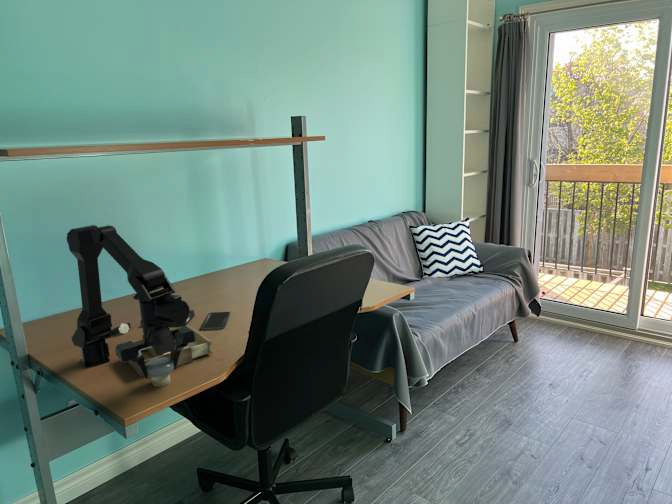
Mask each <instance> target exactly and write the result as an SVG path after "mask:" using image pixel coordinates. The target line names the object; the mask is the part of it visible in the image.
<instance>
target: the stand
mask: <svg viewBox="0 0 672 504" xmlns="http://www.w3.org/2000/svg"><path fill="white" fill-rule="evenodd" d="M151 383H152V386H153V387H156V388H161V387H165V386H168V385H169V384H170V383H171V373H169V374H167V375H163V376H158V377H151Z"/></svg>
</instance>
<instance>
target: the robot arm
mask: <svg viewBox="0 0 672 504" xmlns="http://www.w3.org/2000/svg"><path fill="white" fill-rule="evenodd" d="M66 242H67V244H68V249H69V251H70V253H71V254H72V255H73V257H74V258H75V259H76V260H77V269H78V278H79V289H80V297H81V307H82V309H81V312H80V313H79V315H78V317H77V320H76V322H77V323H76V329H75V330H74V331H75V332H74V333H73V335H72V336H71V341H72V343H73V346H75V347H79V349H80V356H81V359H80V362H81V363H82V364H83V366H84V367H85V368H91V367H93V366H94V367H95V366H97V365H101V364H105V363H108V362H110V361H111V358H110V357H111V355H110V349H109V343H107V341H106V339H109V338H111V330H112V327H113V323H112V315H111V314H110V313H107V311H106V310H105V309H104V307H103V302H102V291H101V280H100V268H99V256H100V255H101V253H102V251H103V249H104V251H106V252H107V253H108V255H110V257H111V258H112V259H113V260H114V261H115V262H116V263H117V264H118V265H119V266H120V267H121V268H122V269H123V270H124V272H125V273H126V274H127V275H126V276H127V282H128V283H129V285H130V287H132V289H133V290H134V292H135V294H134V295H133V297H132V299H133V300H136V301H138V305H139V312H140V325H142V327H141V329H142V339H144V342H143V343H139V344H136V345H135V344H134V343H133V341H132V340H130V341H129V340H128V341H125V342H122V343H117V344H116V346H115V356H116V357H118V359H119V360H120V361H121V362H122V363H123V362H124V363H125V362H127V361H129V360H131V361H132V362H136V363H137V365H138V367H139V368H140V370H141V372H142V374H143V375H144V377H145V378H144V379H146V380H147V379H148V377H147V371H146V367H145V363H144V357H143V356H142V355H141V351H143V350H146V349H150V348H153V349H154V350H155V353H156V354H157V355H163V354H164V353H168V352H170V353H171V359H173V362H174V370H173V371H176V369H177V367H176V366H177V363H178V359H179V355H180V353H181V350H182V349H183V348H184V347H186V346H187V345H188V343H191V342H195V341H196V337H195V333H194V332H193V331H192V330H191V329H189V328H188V327H189V326H187V325H186V326H180V327H178V328H174V329H170V326H168V323H167V322H171V323H175V324H182V323H183V322H185V321H186V319H187V318H188V315H189V310H190V306H189V305H188V303H187V302H186V301H185V300H182V295H178V294H175V293H176V290H175V288H174V286H173V284H172V283H171V282H170V280H169V279H168V277H167V275H166V273H165V272H164V270H163V269H162V267H159V266H158V265H157V264H155V263H154V262H153V261H150V260H146V259H144V258H143V257H141V256H140V255H139V254H138V253H137V252H136V250H134V248H133V247H131V245H129V244H128V243H127V241H125V239H124V238H123V237H122V236H121V235H119V233H118V231H117V230H116V227H115V226H113V225H110V224H108V225H104V226H99V227H98V226H97V225H96V224H91V225H86V226H80V227H76V228H71V229H70V230H69V231H68V232H67V233H66ZM153 291H154V292H153Z"/></svg>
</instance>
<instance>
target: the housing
mask: <svg viewBox="0 0 672 504" xmlns="http://www.w3.org/2000/svg"><path fill="white" fill-rule="evenodd" d="M132 342H133V343H134V344H135V345H136V344H139V343H143V342H144V339H143V338H140V339H137V340H133V341H132ZM141 355H142V356H143V357H144V363H145V364H146V363H147V362H148V361H150V360H152V359H156V358H161V357H168V358H171V353H168V354H164V355H161V356H158V357H154V356H153V355H152V354H151V353H150V352H149V351H148V349H146V350H143V351H141ZM126 362H127V363H128V364H129V365H130V366H131V367H132V368H133V369H134V370H135V372H136V373H137V374H138V375H139V377H141V378H142V379H146V378H145V377H144V375H143V374H142V372H141V370H140V368H139V367H138V365H137V363H136V362H132V361H131V360H129V361H126ZM191 363H192V364H193V363H194V360H193V358H192V351H191V347H188V348H185V349H182V350H181V353H180V355H179V359H178V363H177V366H176V368H179V367H182V366H186V365H189V364H191ZM148 377H149V376H148V375H147V378H148Z"/></svg>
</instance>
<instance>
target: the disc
mask: <svg viewBox="0 0 672 504" xmlns="http://www.w3.org/2000/svg"><path fill="white" fill-rule="evenodd" d="M145 367H146V371H147V375H148V377H150V378H152V377H158V376H163V375H167V374H169V373H170V374H171V373H172V372H174V371H175V370H174V362H173V359H171V358H168V357H161V358H156V359H152V360H150V361H148V362H147V363H146V364H145Z"/></svg>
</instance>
